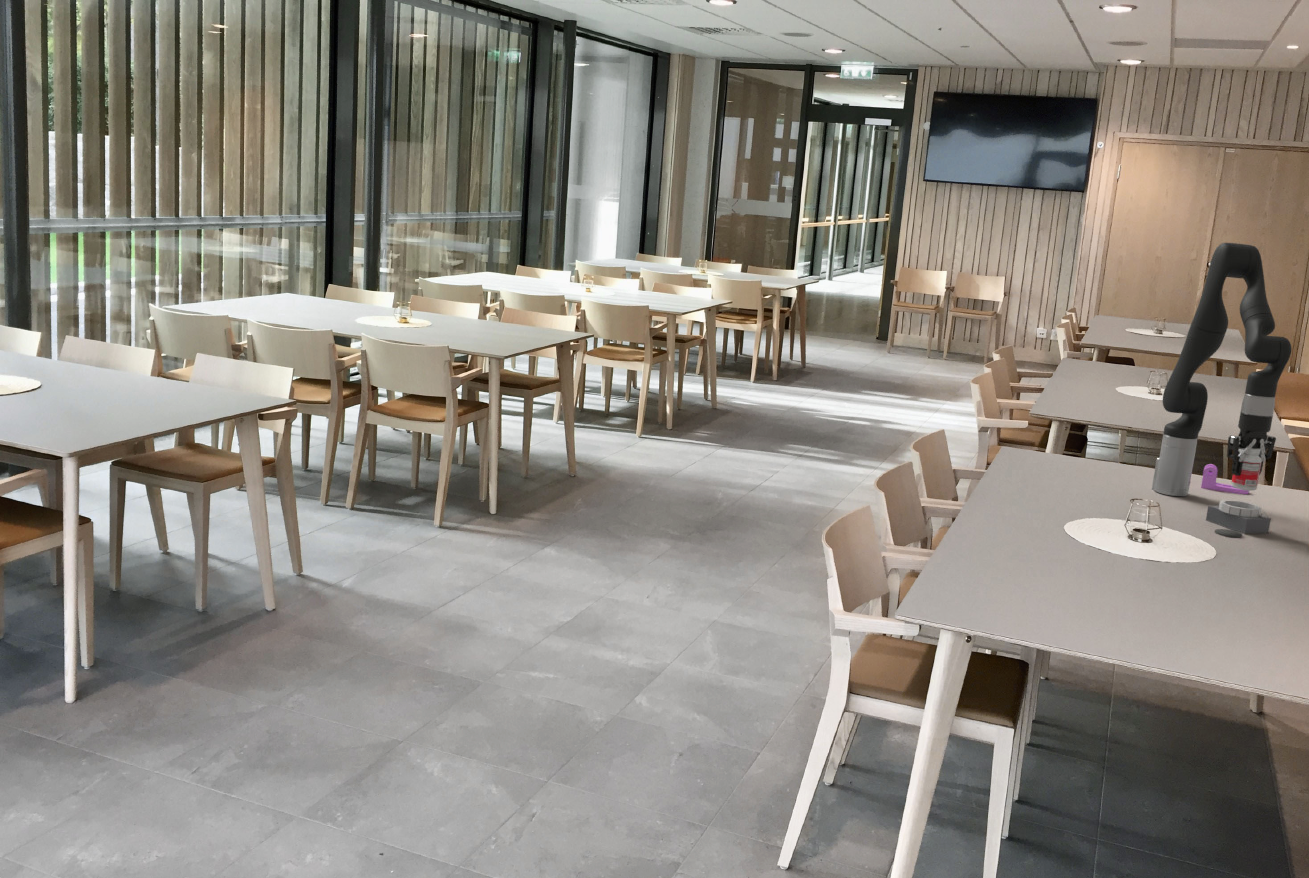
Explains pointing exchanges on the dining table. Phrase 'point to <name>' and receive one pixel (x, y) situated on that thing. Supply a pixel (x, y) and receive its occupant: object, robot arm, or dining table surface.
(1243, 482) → the pill bottle
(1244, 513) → the gray ring-topped block
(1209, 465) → the bracket
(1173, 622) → the dining table surface
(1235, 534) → the lens cap
